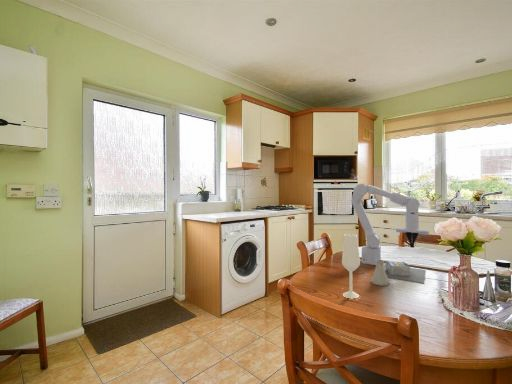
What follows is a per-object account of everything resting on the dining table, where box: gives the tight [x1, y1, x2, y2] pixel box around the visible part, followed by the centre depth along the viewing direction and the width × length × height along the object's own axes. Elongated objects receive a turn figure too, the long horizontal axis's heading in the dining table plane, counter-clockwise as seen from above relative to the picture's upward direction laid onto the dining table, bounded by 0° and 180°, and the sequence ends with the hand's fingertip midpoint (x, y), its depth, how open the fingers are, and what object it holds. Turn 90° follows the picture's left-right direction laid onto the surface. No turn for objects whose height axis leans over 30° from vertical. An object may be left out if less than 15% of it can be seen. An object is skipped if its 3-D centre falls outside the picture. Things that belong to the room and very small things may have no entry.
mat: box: [383, 263, 427, 285], centre depth 126 cm, size 18×20×1 cm
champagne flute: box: [341, 233, 361, 300], centre depth 102 cm, size 7×7×24 cm
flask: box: [370, 259, 390, 287], centre depth 114 cm, size 7×7×10 cm
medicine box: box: [385, 260, 411, 276], centre depth 126 cm, size 8×4×9 cm
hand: (412, 247), depth 135 cm, fingers closed
